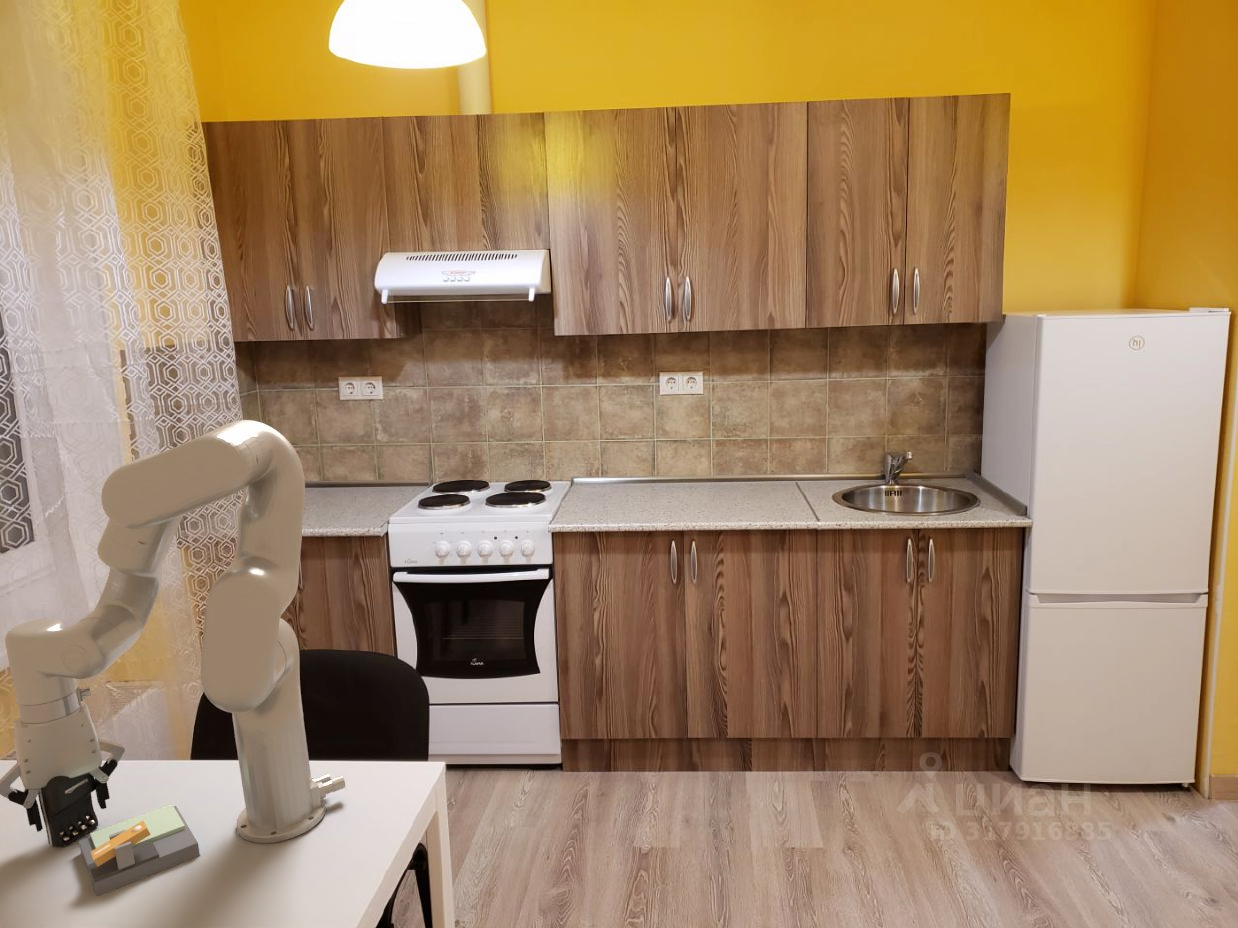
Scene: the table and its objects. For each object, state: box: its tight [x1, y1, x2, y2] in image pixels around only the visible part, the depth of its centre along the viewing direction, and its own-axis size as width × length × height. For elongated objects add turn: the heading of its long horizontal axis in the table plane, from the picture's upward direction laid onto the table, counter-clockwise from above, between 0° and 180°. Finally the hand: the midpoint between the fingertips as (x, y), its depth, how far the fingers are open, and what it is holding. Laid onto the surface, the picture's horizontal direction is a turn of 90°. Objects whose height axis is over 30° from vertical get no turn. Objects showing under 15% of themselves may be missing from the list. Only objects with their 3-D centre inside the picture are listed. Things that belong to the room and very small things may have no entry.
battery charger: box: [37, 773, 99, 848], centre depth 137 cm, size 7×4×11 cm, turn 157°
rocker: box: [91, 821, 151, 867], centre depth 127 cm, size 7×2×1 cm, turn 127°
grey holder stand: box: [78, 803, 201, 897], centre depth 132 cm, size 13×12×6 cm
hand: (70, 815), depth 137 cm, fingers open, 7 cm apart
